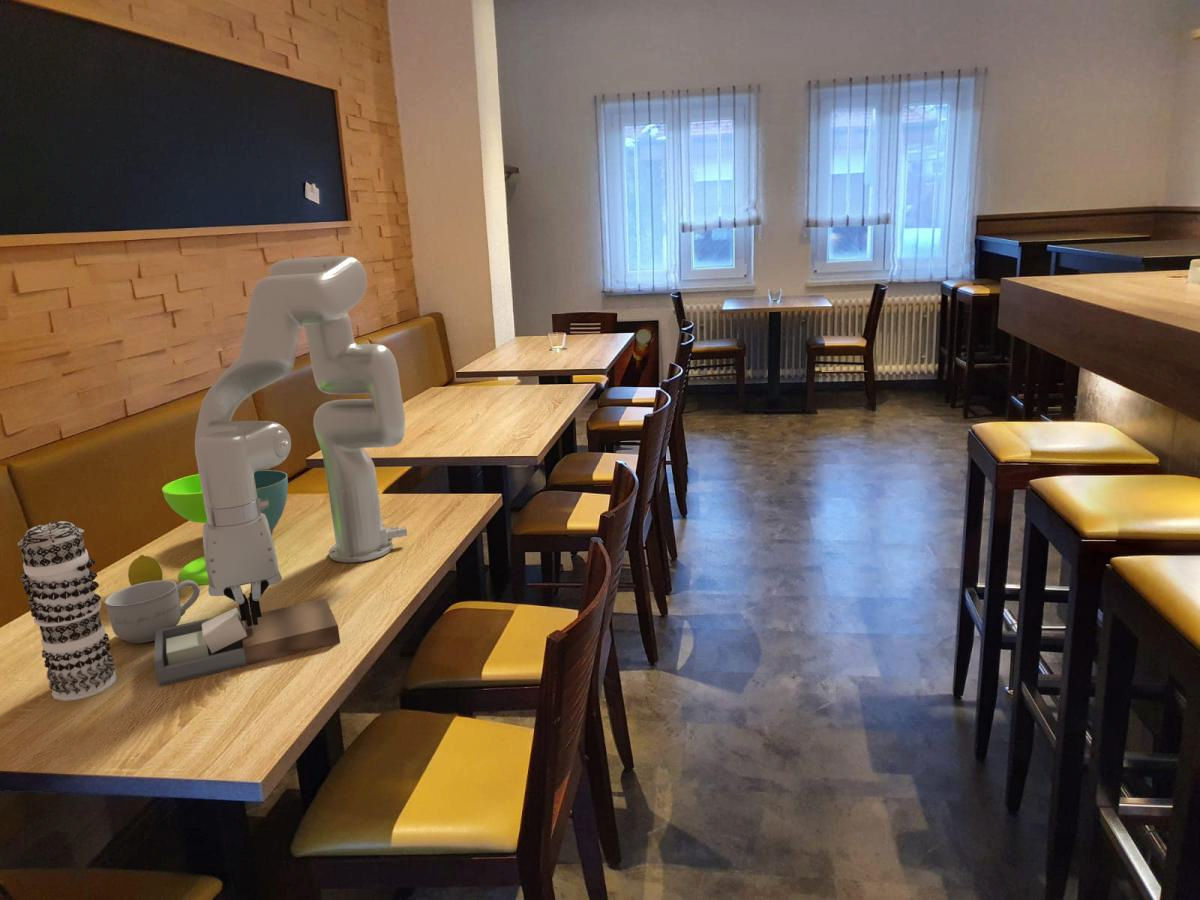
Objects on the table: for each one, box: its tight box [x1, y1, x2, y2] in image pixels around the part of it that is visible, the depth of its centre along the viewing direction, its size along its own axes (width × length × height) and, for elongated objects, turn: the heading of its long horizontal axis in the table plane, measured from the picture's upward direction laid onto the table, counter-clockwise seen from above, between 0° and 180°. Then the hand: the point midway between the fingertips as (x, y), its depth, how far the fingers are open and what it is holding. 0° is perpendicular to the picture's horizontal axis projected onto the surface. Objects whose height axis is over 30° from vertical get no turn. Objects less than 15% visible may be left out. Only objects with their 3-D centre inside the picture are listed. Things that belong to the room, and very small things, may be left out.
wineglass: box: [161, 473, 209, 585], centre depth 169 cm, size 16×16×18 cm
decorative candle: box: [17, 520, 118, 702], centre depth 124 cm, size 9×9×25 cm
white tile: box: [202, 607, 247, 653], centre depth 134 cm, size 6×6×3 cm
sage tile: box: [166, 631, 209, 665], centre depth 132 cm, size 6×6×3 cm
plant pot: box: [254, 469, 289, 533], centre depth 189 cm, size 18×18×12 cm
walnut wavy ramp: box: [242, 597, 341, 666], centre depth 139 cm, size 14×12×3 cm
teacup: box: [104, 579, 201, 644], centre depth 143 cm, size 14×11×8 cm
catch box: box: [153, 616, 247, 688], centre depth 133 cm, size 12×12×4 cm
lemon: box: [127, 554, 164, 586], centre depth 159 cm, size 6×6×8 cm
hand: (252, 622), depth 136 cm, fingers closed
